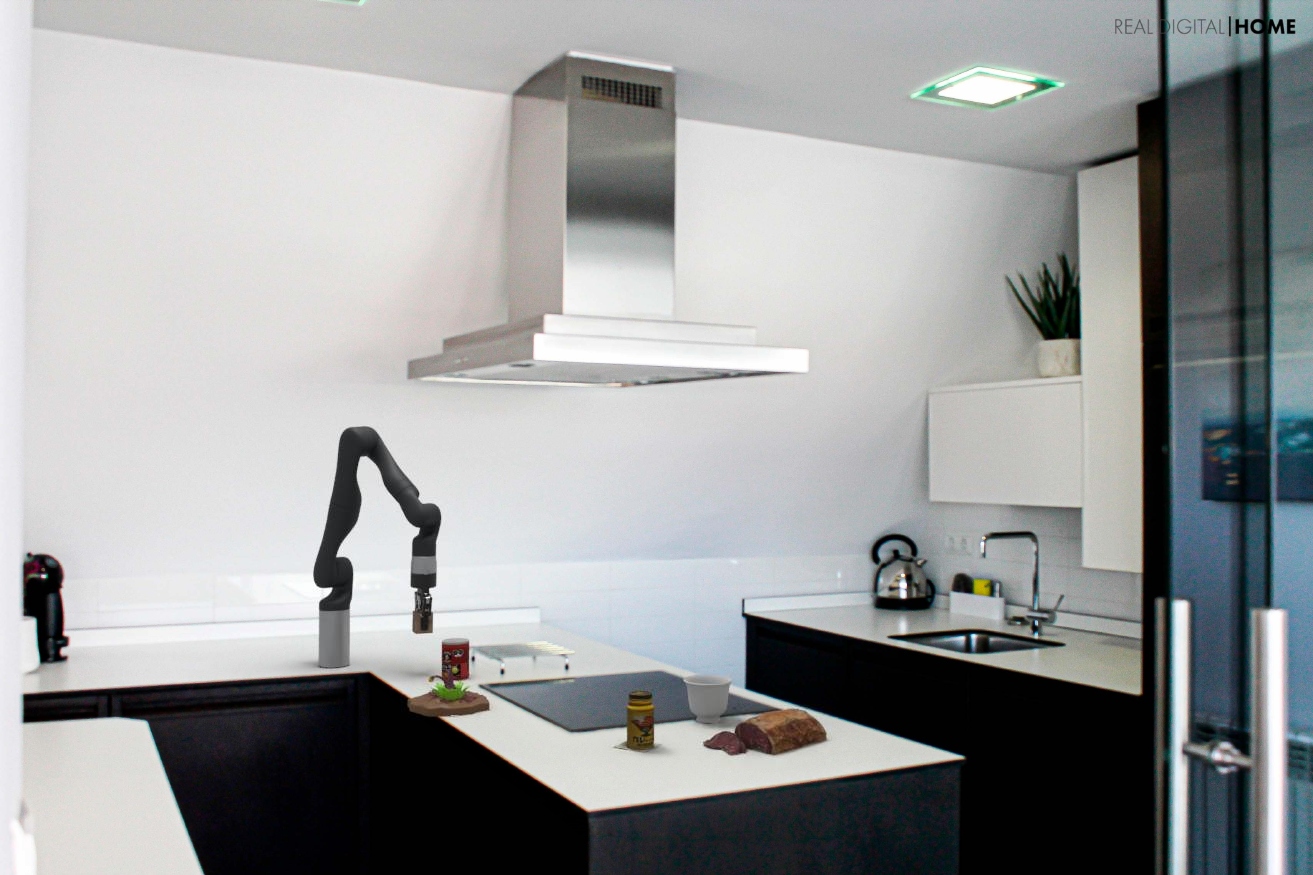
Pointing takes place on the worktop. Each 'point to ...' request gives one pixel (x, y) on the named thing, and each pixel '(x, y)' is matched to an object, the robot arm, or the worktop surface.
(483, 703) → the plant
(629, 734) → the condiment
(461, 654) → the canned food
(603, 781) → the worktop surface
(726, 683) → the teacup
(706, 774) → the worktop surface
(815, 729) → the cured meat
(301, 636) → the worktop surface
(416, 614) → the walnut block
